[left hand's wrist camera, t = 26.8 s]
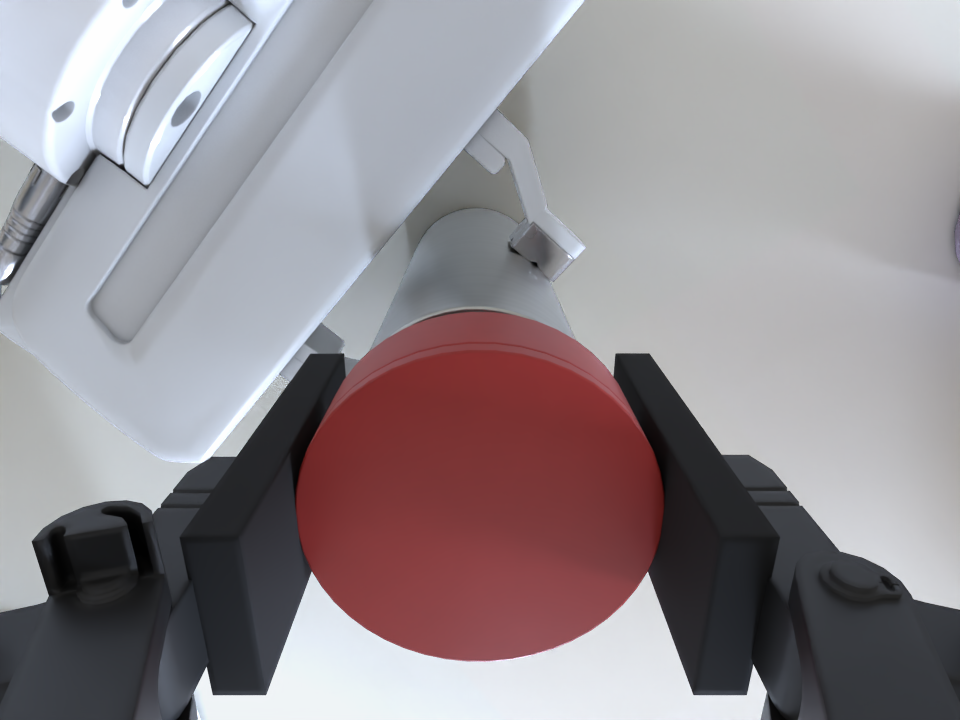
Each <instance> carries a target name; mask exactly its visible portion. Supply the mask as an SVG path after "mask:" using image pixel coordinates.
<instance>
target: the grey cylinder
mask: <svg viewBox="0 0 960 720" xmlns="http://www.w3.org/2000/svg"><path fill="white" fill-rule="evenodd" d="M518 225H519V224H518V223H517V222H516V221H514V220H513V219H511V218H510V217H508V216H506V215H505V214H502V213H500V212H497V211H494V210H490V209H484V208H468V209H462V210H458V211H455V212H452V213H450V214H448V215H446V216H444V217H442V218H441V219H439V220H438V221H437V222H435V223H434V224H433V225H432V226H431V227H430V228H429V229H428V230H427V231H426V233H425V234H424V235H423V237H422V238H421V240H420V242H419V244H418V246H417V248H416V250H415V252H414V255H413V257H412V259H411V261H410V263H409V266H408V268H407V270H406V272H405V274H404V277H403V279H402V281H401V283H400V285H399V288H398V290H397V292H396V294H395V296H394V299H393V301H392V303H391V305H390V308H389V310H388V312H387V314H386V316H385V319H384V321H383V323H382V325H381V327H380V330H379V332H378V334H377V336H376V338H375V341H374V343H373V345H372V347H371V349H370V350H372V349H373V348H374V347H376V346H377V345H378V344H380V343H381V342H382V341H384V340H385V339H387V338H388V337H390V336H392V335H394V334H396V333H397V332H399V331H401V330H403V329H405V328H407V327H409V326H412V325H414V324H417V323H420V322H422V321H425V320H428V319H432V318H436V317H440V316H444V315H448V314H457V313H466V312H495V313H503V314H510V315H516V316H520V317H524V318H527V319H531V320H535V321H538V322H540V323H543V324H545V325H548V326H550V327H553V328H555V329H557V330H559V331H561V332H562V333H564V334H566V335H568V336H569V337H571V338H573V339H575V337H574V335H573V333H572V330H571V328H570V326H569V323H568V321H567V319H566V316H565V314H564V312H563V310H562V307H561V305H560V303H559V300H558V298H557V296H556V294H555V291H554V289H553V287H552V284H551V282H550V280H549V279H548V278H547V277H545V276H544V274H543V273H542V272H541V271H540V270H539V269H538V266H537V264H536V262H530V261H529V260H527V259H526V258H525V257H523V256H522V255H520V254H519V253H518V252H517V251H516V250H515V249H514V248H513V247H512V245H511V242H512V241H511V240H510V237H509V236H510V235H511V234H512V232H513V231H514V230H515V229H516V228H517V227H518ZM575 340H576V339H575Z"/></svg>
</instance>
